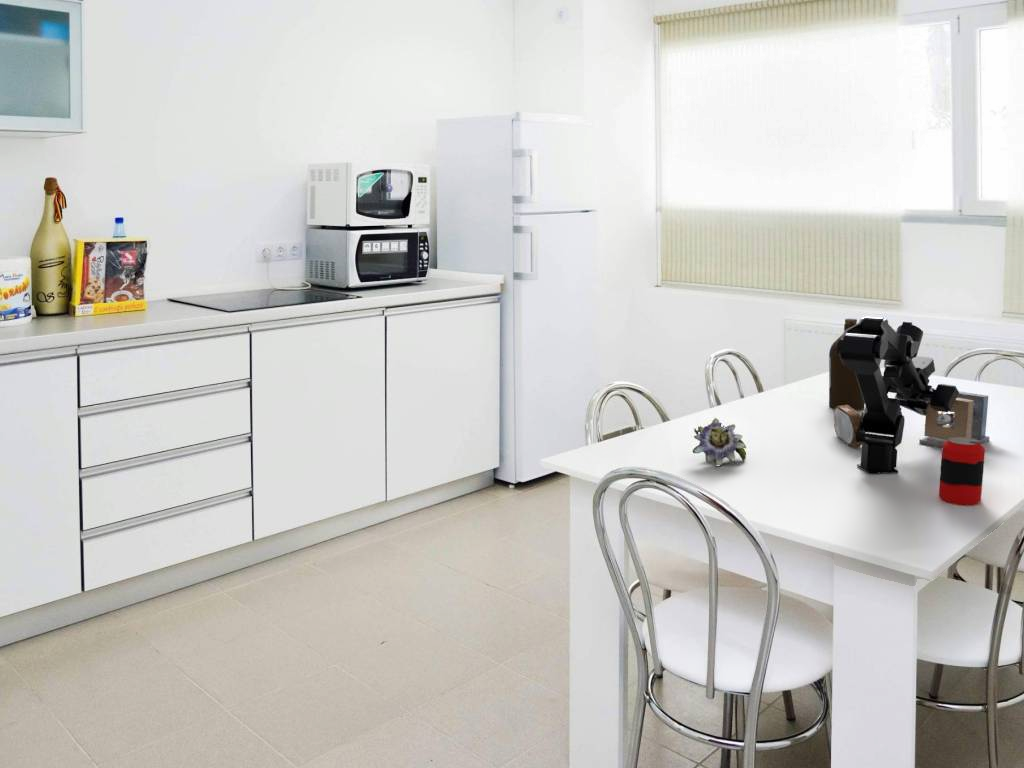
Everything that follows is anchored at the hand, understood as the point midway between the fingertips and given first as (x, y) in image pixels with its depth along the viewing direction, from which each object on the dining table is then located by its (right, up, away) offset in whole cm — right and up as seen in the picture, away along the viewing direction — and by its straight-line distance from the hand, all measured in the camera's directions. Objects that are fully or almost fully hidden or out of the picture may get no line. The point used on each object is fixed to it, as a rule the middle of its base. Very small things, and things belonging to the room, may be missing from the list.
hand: (924, 413), depth 225 cm
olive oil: (-3, 0, +44) cm, 44 cm away
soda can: (-10, -16, -38) cm, 42 cm away
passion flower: (-51, -11, -8) cm, 52 cm away
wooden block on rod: (+6, -6, +2) cm, 9 cm away
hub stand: (+9, -7, +5) cm, 12 cm away
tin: (-16, -7, +7) cm, 19 cm away
